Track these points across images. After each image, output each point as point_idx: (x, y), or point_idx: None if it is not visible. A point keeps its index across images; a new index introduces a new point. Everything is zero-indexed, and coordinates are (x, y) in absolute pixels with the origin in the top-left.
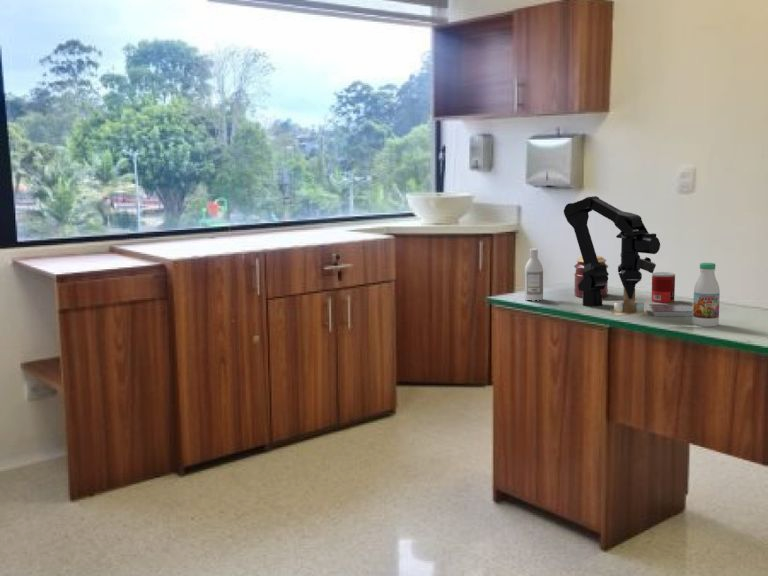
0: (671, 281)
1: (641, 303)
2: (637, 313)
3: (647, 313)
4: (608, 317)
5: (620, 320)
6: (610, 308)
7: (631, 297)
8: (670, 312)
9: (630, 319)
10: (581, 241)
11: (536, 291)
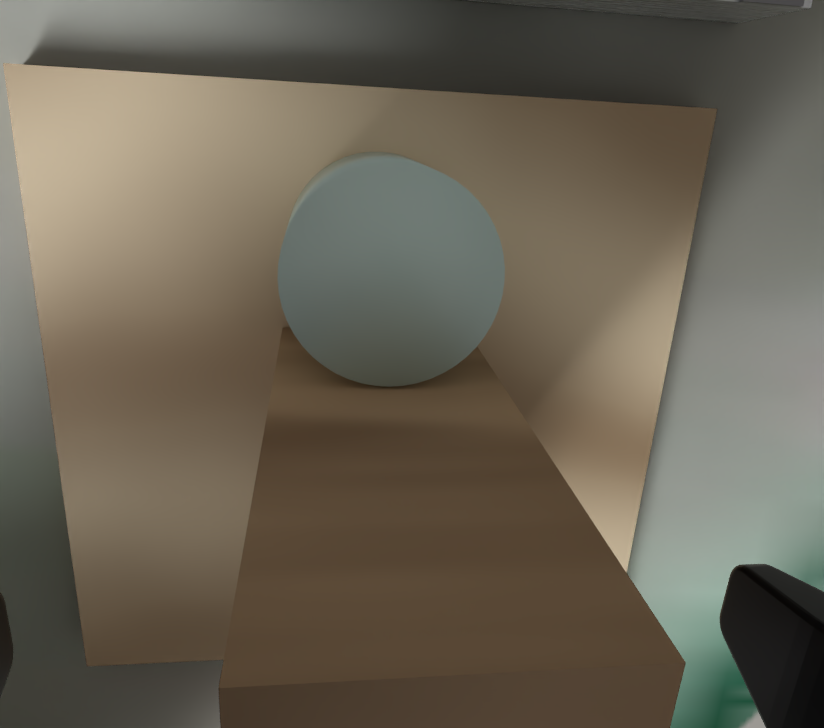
0: None
1: (419, 231)
2: (535, 292)
3: (552, 108)
4: None
5: (819, 539)
6: (117, 656)
7: (784, 588)
8: None
9: (788, 416)
10: None
11: None
